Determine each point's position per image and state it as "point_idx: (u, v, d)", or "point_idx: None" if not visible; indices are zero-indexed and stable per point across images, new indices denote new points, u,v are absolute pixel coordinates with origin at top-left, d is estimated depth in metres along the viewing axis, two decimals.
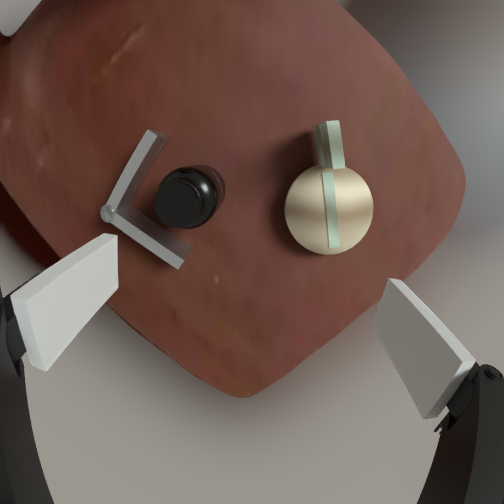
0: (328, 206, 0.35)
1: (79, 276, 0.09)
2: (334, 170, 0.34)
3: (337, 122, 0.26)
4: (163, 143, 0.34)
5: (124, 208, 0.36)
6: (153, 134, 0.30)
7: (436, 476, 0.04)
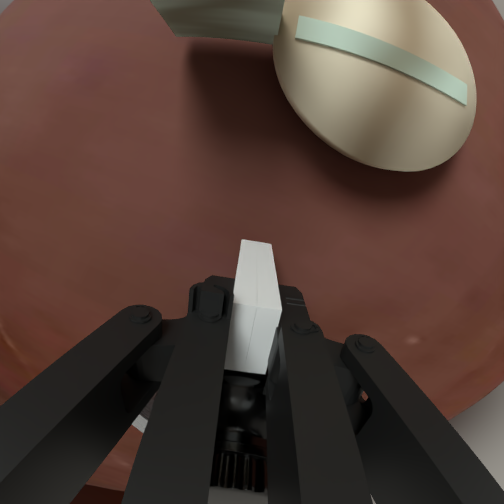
0: (383, 58, 0.10)
1: None
2: (297, 12, 0.10)
3: None
4: None
5: None
6: None
7: (272, 461, 0.05)
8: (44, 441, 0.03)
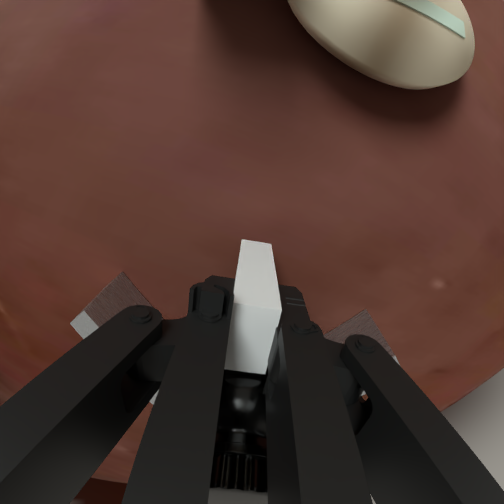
0: None
1: None
2: None
3: None
4: (126, 290, 0.16)
5: None
6: (80, 317, 0.12)
7: (272, 461, 0.05)
8: (44, 441, 0.03)
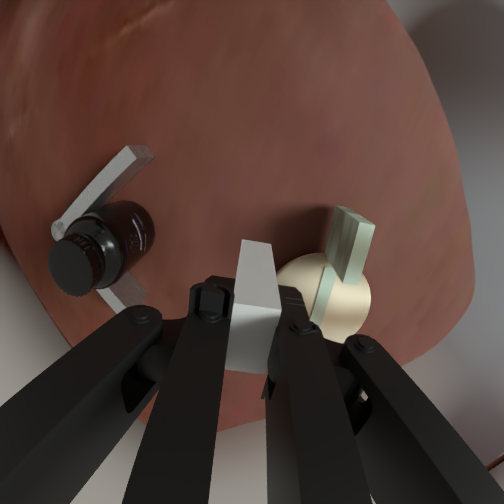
0: (317, 304, 0.29)
1: None
2: None
3: (372, 227, 0.21)
4: (145, 163, 0.26)
5: None
6: (132, 154, 0.22)
7: (272, 461, 0.05)
8: (44, 441, 0.03)
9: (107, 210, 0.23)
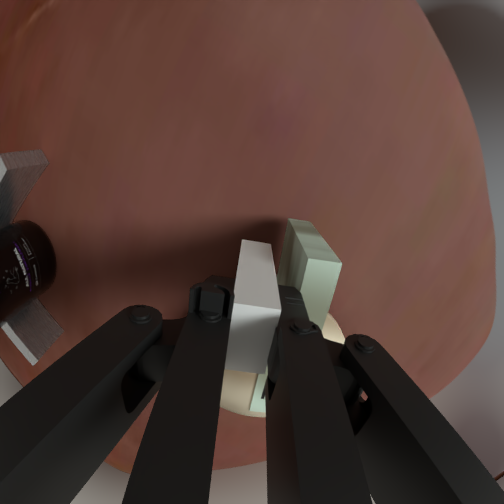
0: None
1: None
2: None
3: (336, 267, 0.11)
4: (35, 172, 0.16)
5: None
6: (3, 165, 0.12)
7: (272, 461, 0.05)
8: (44, 441, 0.03)
9: None
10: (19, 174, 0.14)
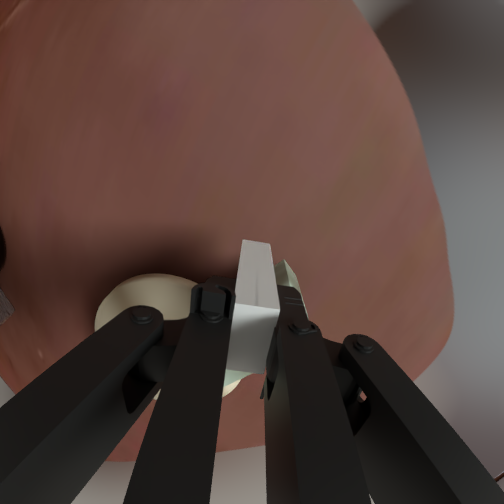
0: None
1: None
2: None
3: None
4: None
5: None
6: None
7: (271, 461, 0.05)
8: (45, 441, 0.03)
9: None
10: None
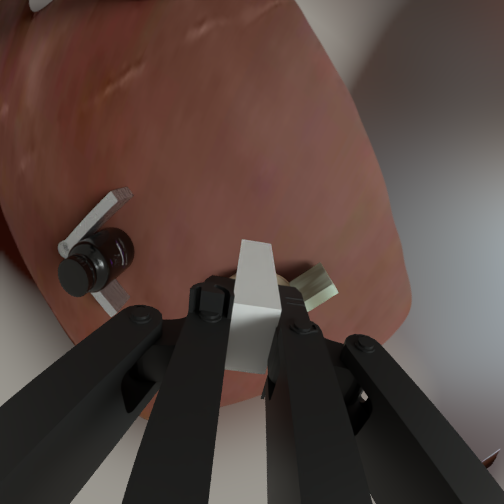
0: None
1: None
2: None
3: (336, 292, 0.31)
4: (126, 201, 0.36)
5: None
6: (114, 198, 0.31)
7: (272, 461, 0.05)
8: (44, 441, 0.03)
9: (98, 237, 0.32)
10: (120, 202, 0.33)
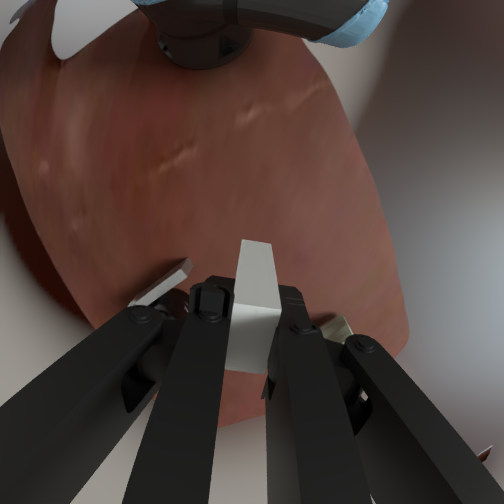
0: None
1: None
2: None
3: None
4: None
5: None
6: (184, 274, 0.42)
7: (272, 461, 0.05)
8: (44, 441, 0.03)
9: (170, 303, 0.43)
10: None
